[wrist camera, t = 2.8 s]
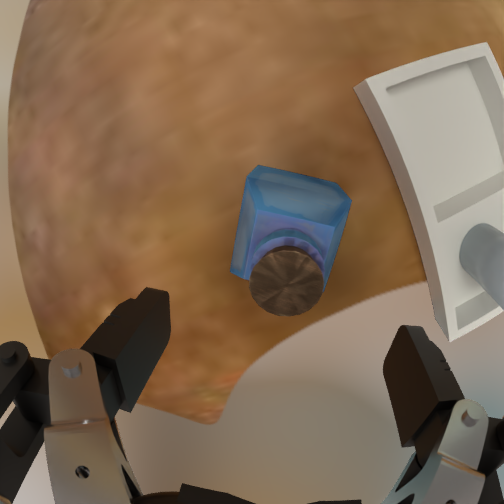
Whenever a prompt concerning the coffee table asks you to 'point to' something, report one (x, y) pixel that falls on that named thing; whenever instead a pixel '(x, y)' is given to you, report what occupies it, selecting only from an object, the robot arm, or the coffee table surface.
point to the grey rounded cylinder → (485, 259)
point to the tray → (445, 165)
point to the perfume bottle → (288, 238)
